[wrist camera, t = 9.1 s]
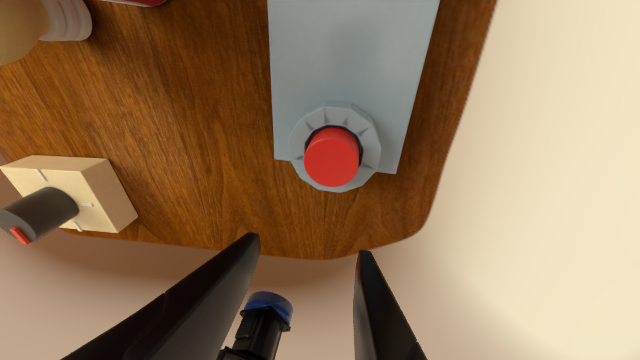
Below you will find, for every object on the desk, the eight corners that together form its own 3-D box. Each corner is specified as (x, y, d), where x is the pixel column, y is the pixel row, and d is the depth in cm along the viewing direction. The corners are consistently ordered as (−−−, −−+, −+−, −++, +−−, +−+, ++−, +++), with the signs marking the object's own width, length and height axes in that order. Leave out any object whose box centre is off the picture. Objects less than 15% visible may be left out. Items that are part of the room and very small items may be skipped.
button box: (390, 174, 22) (394, 200, 18) (282, 161, 23) (267, 183, 19) (473, -170, 12) (518, -256, 8) (272, -166, 13) (239, -241, 9)
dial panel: (107, 157, 26) (77, 171, 23) (139, 217, 30) (117, 235, 27) (32, 153, 27) (-5, 166, 24) (72, 211, 31) (44, 227, 29)
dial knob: (33, 185, 25) (-22, 210, 22) (65, 187, 25) (13, 213, 21) (56, 215, 27) (8, 243, 24) (86, 217, 27) (42, 246, 23)
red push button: (355, 176, 18) (354, 191, 16) (308, 170, 18) (302, 184, 17) (362, 130, 16) (362, 141, 14) (310, 124, 17) (304, 135, 15)
